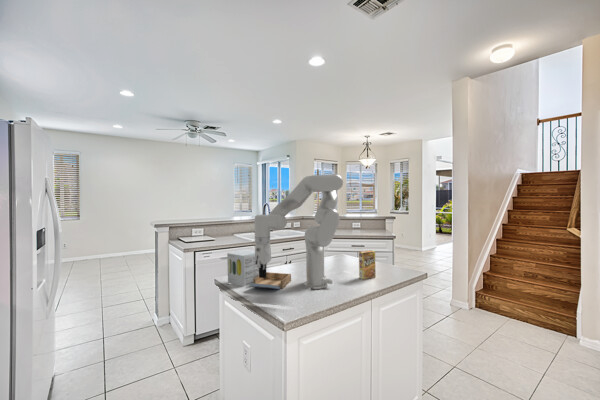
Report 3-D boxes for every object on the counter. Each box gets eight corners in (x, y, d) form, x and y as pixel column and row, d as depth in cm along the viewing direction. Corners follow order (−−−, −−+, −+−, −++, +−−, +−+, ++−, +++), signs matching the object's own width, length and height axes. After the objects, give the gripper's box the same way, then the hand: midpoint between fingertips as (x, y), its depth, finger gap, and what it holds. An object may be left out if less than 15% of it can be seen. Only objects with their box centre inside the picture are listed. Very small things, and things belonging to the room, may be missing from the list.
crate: (291, 282, 153) (291, 273, 153) (282, 291, 140) (282, 281, 140) (264, 280, 158) (264, 272, 158) (253, 288, 145) (253, 279, 144)
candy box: (363, 279, 158) (362, 252, 157) (358, 277, 161) (358, 251, 161) (375, 277, 161) (375, 251, 161) (371, 275, 165) (371, 250, 165)
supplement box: (227, 284, 152) (226, 252, 151) (244, 278, 162) (244, 248, 162) (244, 289, 144) (243, 255, 144) (261, 282, 155) (261, 251, 154)
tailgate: (280, 287, 141) (275, 285, 134) (280, 290, 141) (275, 288, 134) (256, 284, 145) (250, 283, 138) (256, 288, 144) (249, 286, 137)
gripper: (263, 242, 128) (263, 282, 128) (275, 238, 142) (275, 273, 143) (248, 242, 130) (248, 281, 130) (261, 237, 144) (261, 272, 145)
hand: (262, 277), depth 136 cm, fingers closed
